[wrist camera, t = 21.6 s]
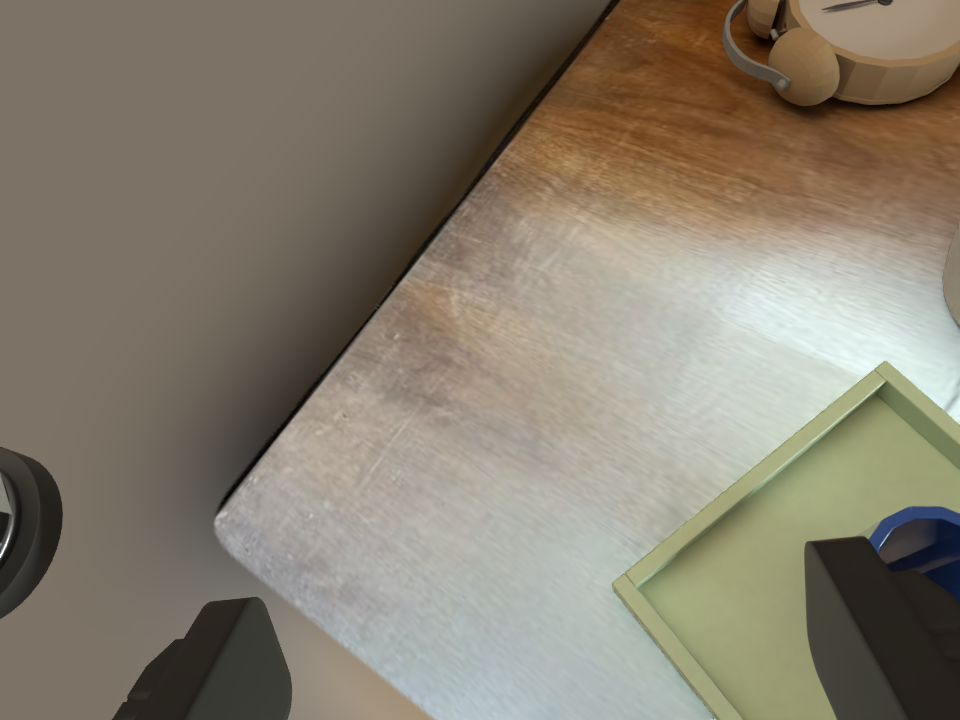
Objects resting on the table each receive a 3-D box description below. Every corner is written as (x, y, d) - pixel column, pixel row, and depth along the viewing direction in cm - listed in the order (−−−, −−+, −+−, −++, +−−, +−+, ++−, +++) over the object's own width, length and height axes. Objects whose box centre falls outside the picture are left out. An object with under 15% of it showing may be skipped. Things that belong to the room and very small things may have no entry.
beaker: (863, 676, 34) (946, 676, 25) (784, 588, 36) (834, 559, 27) (940, 610, 35) (1048, 587, 26) (857, 527, 37) (931, 478, 28)
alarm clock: (1028, 45, 42) (768, 75, 41) (976, 108, 47) (740, 136, 46) (949, -88, 47) (714, -62, 46) (909, -19, 51) (693, 5, 51)
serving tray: (837, 871, 32) (852, 886, 30) (612, 589, 38) (611, 583, 36) (1130, 609, 34) (1168, 604, 31) (870, 378, 40) (885, 359, 37)
